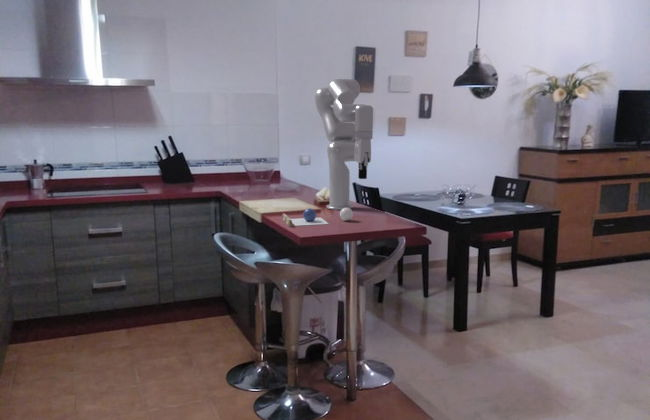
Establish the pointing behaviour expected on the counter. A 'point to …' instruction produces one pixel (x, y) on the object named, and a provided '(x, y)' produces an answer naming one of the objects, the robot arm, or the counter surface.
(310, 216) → the navy ball
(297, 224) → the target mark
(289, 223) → the stopper rail
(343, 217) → the cue ball
